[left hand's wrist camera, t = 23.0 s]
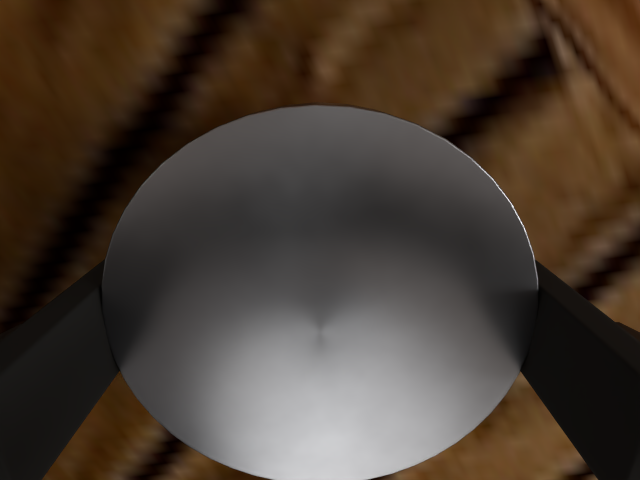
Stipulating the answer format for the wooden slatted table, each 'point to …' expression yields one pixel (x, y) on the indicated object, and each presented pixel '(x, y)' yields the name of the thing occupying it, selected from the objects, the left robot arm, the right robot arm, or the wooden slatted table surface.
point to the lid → (320, 293)
